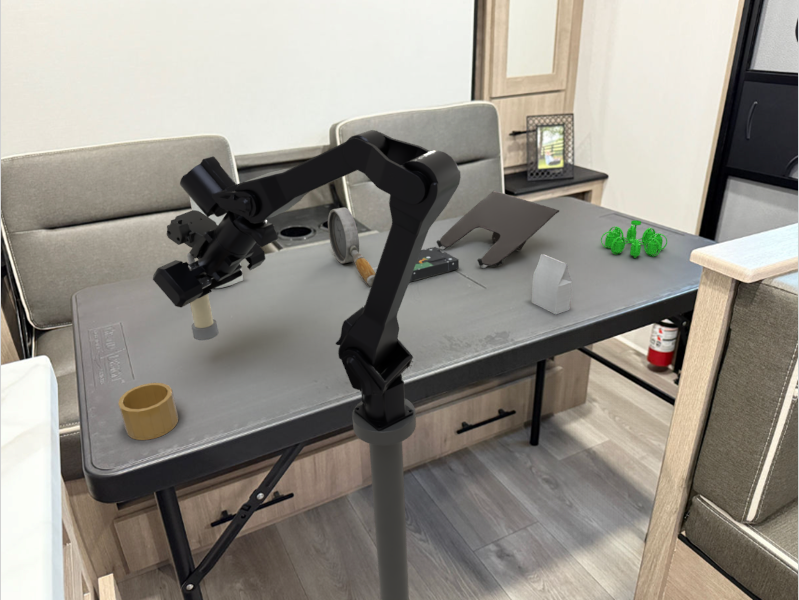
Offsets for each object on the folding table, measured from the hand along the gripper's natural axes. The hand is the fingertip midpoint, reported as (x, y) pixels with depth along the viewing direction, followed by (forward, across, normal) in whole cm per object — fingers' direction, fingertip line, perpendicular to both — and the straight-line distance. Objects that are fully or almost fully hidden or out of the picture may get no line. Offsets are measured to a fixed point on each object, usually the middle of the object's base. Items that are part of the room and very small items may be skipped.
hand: (192, 294), depth 98 cm
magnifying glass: (+9, -47, +10) cm, 49 cm away
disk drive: (-1, -53, +20) cm, 57 cm away
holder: (+6, +16, +13) cm, 21 cm away
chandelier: (-30, -84, +50) cm, 103 cm away
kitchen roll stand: (+4, 0, +6) cm, 7 cm away
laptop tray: (-8, -71, +28) cm, 77 cm away
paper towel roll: (+26, -28, -6) cm, 39 cm away
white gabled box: (-24, -46, +43) cm, 67 cm away
